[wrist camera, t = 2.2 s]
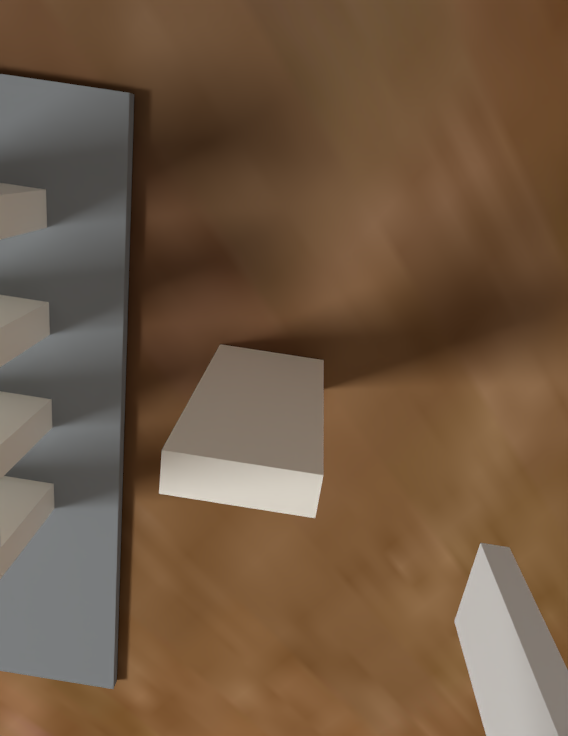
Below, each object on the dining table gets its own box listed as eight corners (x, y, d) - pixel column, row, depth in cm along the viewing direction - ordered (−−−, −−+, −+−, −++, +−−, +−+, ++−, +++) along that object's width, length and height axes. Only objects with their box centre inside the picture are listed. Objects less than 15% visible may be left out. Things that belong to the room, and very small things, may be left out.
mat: (-153, 52, 22) (-165, 49, 22) (134, 94, 22) (129, 92, 22) (-67, 650, 35) (-73, 658, 34) (116, 680, 35) (113, 689, 34)
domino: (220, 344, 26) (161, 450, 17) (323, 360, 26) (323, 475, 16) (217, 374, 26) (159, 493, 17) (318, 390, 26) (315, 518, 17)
